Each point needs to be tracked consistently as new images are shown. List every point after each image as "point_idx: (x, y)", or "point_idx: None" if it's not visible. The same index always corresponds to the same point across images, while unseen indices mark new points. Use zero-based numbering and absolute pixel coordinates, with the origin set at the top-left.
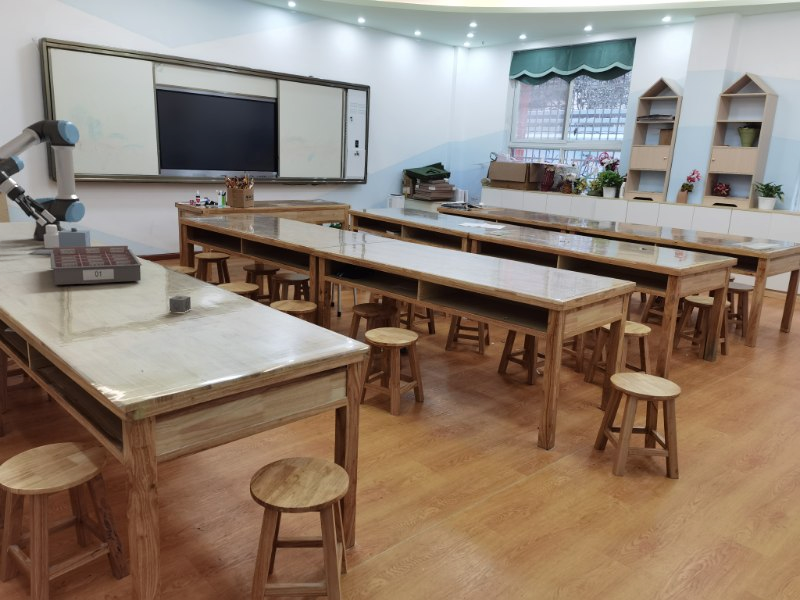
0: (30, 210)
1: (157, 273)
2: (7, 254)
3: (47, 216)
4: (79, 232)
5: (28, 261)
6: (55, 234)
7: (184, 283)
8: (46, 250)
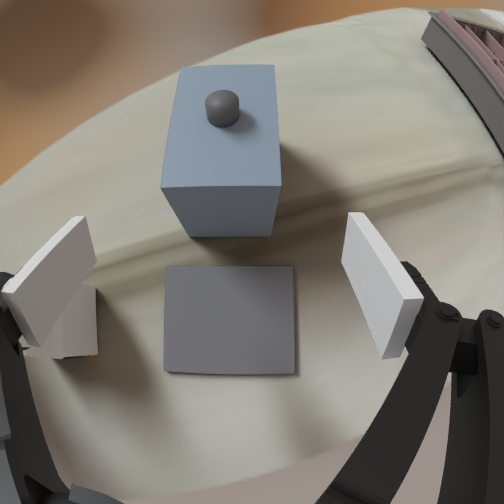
0: (500, 318)
1: None
2: (294, 459)
3: (63, 282)
4: (266, 85)
5: (449, 303)
6: None
7: (486, 22)
8: (190, 321)
